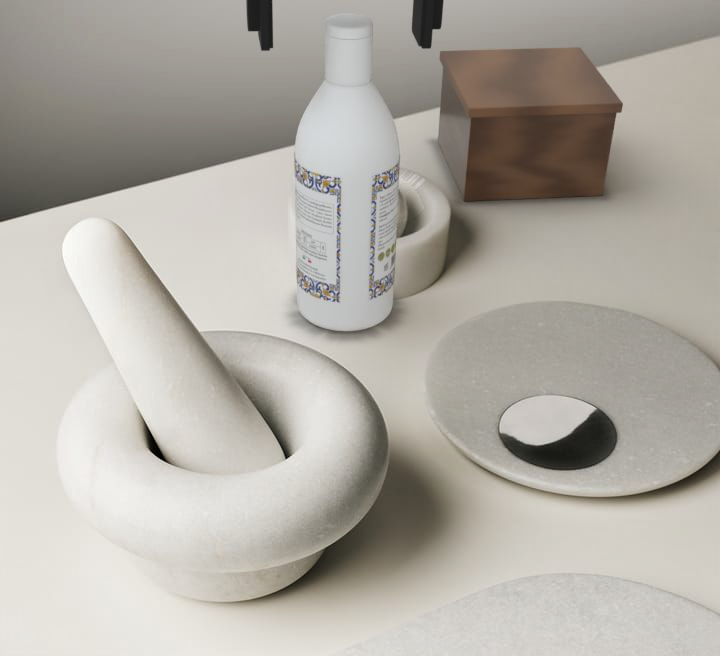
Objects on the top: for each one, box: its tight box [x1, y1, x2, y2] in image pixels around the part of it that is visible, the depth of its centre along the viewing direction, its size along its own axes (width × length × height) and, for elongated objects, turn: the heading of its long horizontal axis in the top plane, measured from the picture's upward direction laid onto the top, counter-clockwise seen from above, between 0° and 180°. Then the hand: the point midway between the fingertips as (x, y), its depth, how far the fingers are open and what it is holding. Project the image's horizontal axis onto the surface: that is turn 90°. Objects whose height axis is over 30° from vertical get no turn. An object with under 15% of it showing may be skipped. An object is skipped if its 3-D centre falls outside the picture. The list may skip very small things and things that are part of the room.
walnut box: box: [437, 46, 624, 202], centre depth 98 cm, size 13×13×8 cm
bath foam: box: [293, 12, 401, 332], centre depth 76 cm, size 7×7×20 cm
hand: (343, 42), depth 70 cm, fingers open, 9 cm apart
